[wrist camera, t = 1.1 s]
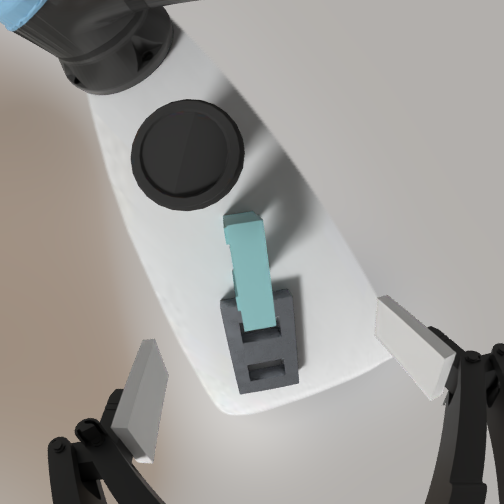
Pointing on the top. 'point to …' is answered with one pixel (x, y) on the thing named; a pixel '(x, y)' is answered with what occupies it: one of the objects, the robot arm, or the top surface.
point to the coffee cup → (187, 155)
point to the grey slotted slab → (263, 346)
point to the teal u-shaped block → (250, 269)
